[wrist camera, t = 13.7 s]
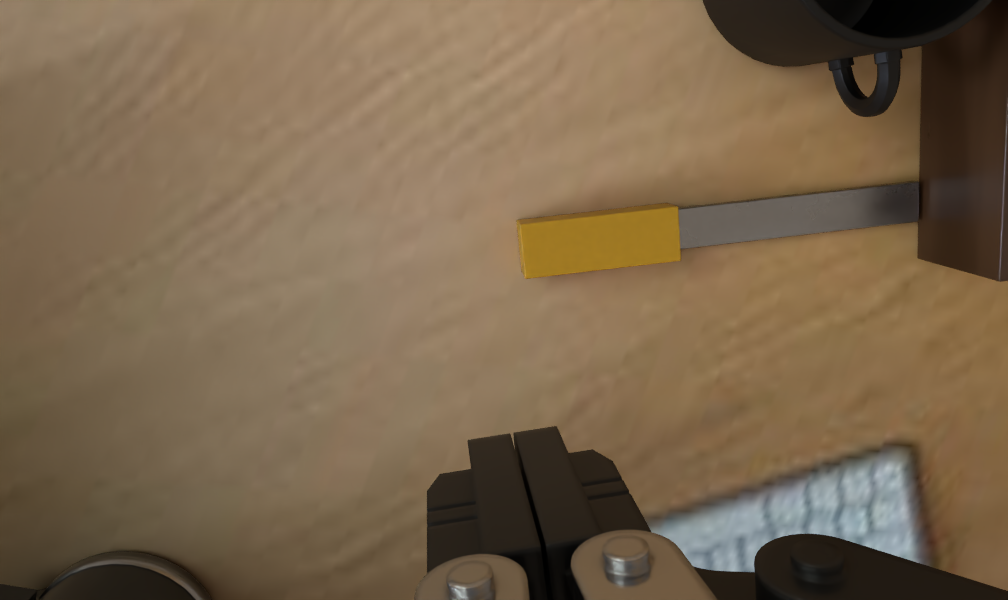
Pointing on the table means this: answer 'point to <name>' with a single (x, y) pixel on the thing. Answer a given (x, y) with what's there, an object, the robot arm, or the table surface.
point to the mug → (840, 36)
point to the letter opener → (700, 227)
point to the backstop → (966, 147)
